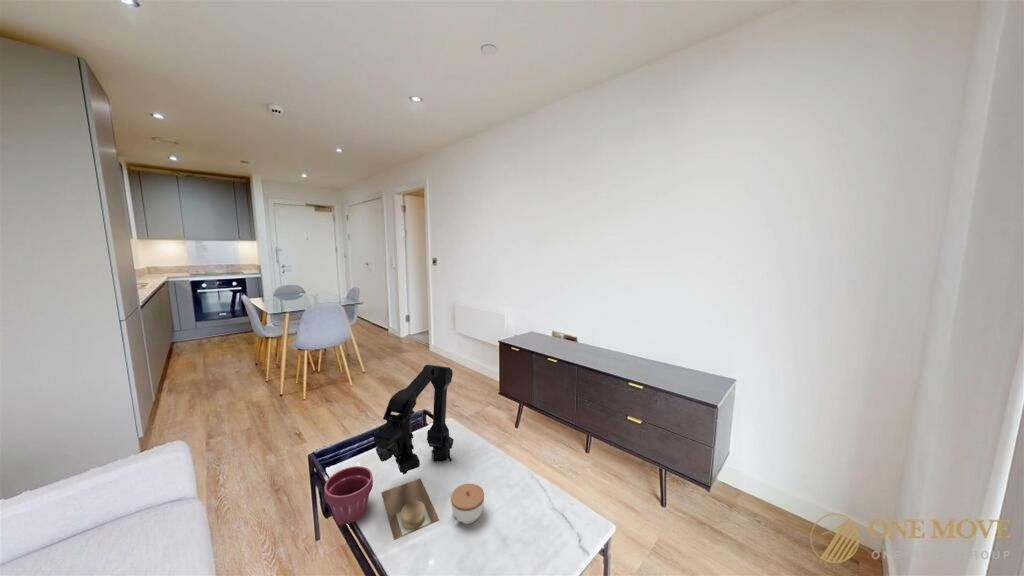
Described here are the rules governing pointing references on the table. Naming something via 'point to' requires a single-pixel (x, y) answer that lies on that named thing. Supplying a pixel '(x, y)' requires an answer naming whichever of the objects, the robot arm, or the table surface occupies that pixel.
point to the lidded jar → (467, 502)
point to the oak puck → (412, 515)
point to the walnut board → (402, 496)
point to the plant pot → (349, 493)
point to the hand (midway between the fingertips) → (404, 473)
